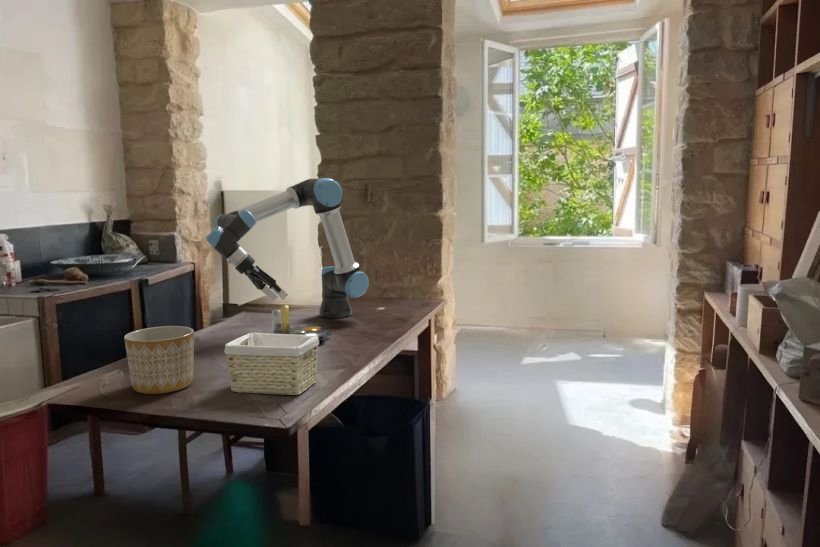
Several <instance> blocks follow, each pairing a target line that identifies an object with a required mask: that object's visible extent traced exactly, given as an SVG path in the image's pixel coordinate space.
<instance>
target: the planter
mask: <svg viewBox="0 0 820 547" xmlns="http://www.w3.org/2000/svg"><path fill="white" fill-rule="evenodd" d="M194 333H195V330H194V329H193V328H191V327H189V326H181V325H179V326H178V325H166V326H165V325H164V326H154V327H147V328H143V329H142V328H141V329H138V330H133V331H131V332H128V333H126V334H125V335H124V337H123V340H124V344H125V351H126V357H127V364H128V370H129V376H130V382H131V383H130V384H131V387H132V389H133V390H134V391H135V392H137V393H139V394H144V395H163V393H164V394H169V392H170V393H174V391H175V392H179V391H181V390H183V389H185V388H187V387H189V386H190V385H191V384H192V382H193V381H194V356H195V355H194V351H195V350H194V348H195V347H194V345H195V344H194V343H195V341H194V340H195V337H194V336H195V334H194Z"/></svg>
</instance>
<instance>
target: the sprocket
mask: <svg viewBox="0 0 820 547" xmlns="http://www.w3.org/2000/svg"><path fill="white" fill-rule="evenodd" d="M289 307H290V306H289V304H282V305H280V310H281V329H282V330H280V329H279V330H276V331H275V334H290V335H311V336H313V335H316V336H318V339H319V342H325V341H327V340H328V336H330V337H331V336H332V331H331V330H330V329H325V328H322V327H321V326H293V327H291V328H290V311H289V310H290V308H289Z"/></svg>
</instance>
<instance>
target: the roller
mask: <svg viewBox="0 0 820 547" xmlns="http://www.w3.org/2000/svg"><path fill="white" fill-rule="evenodd" d="M271 322H272V323H271V324H272V325H271V326H272V334H275V331H276V330H279V329H280V330H282V329H281V309H273V310H271Z"/></svg>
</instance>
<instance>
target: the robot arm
mask: <svg viewBox="0 0 820 547" xmlns="http://www.w3.org/2000/svg"><path fill="white" fill-rule="evenodd" d="M342 198H343V189H342V187H341V185H340V184H339V182H338V181H336V180H335V179H332V178H328V177H320V178H309V179H306V180H303V181H301V182H298V183H296V184H294V185H291V186H289V187H287V188H286V190H285V191H282V192H281V193H277V194H275V195H273V196H270V197H267V198H265V199H262V200H260V201H257V202H254V203H251V204H249V205H246V206H244V207H241V208H238V209H236V210H234V211H231V212H229V213H222V214H219V215H218V216H216V218H215V219H214V227H215V228H214V229H213V230H212V231H211V232H210V233H209V234H208V235H207V236H206V242H207V243H208V244H209V245H210V246H211V247H212V248H213V249H214V250H215V251H216V252H217V253H219V255H221V256H222V257H223V258H224V260H226V261H227V265H231V266H232V267H234V268H235V270H236V271H237V272H238V273H239V274H240V275H243V274H244V275H245V276H246V277H247V278H248V279H249V281H250V282H251V283H252V284H253V286H255V288H256V289H257V290H260V291H261V292H262V293H263V294H264V295H265V296H266V297H267V298H268V299H269V300H271V302H275V301H276V299H278V297H279V298H280V299H281V300H282V301H284V300H285V299H286V298H287V297H288V296H289V294H288V293H287V292H286V291H285V290H284V289H283V288H282V287H281V286H280V285H278V283H277V280H276V279H275V278H273V277H272V276H270V275H269V274H268V273H267V272H265V271H264V270H263V269H262V268H260V267H259V266H258V265H255V266H254V264H255V262H256V260H255V259H254V258H253V257H252V256H251V255H250V254H248V251H246V250H245V249H244V248H243V247H242V245H240V244H239V243H238V242H239V241H240V240H242V238H243V237H244V236H245V235H247V233H249V232H250V230H252V229H253V227H254V226H256V224H257V223H258V222H260V221H263V220H265V219H268V218H271V217H273V216H275V215H277V214H281V213H283V212H285V211H288V210H290V209H296V210H297V209H300V208H301V207H307V206H309V207H310V206H311V207H313V210H314V213H315V215H317V216H319V217H320V221H321V224H322V226H323V230H324V232H325V237H326V240H327V243H328V246H329V250H330V252H331V256H332V259H333V261H334V266H333V265H332V266H324V267H322V268H321V274H320V275H321V276H320V277H321V289H322V290H321V293H322V294H321V295H322V300H321V303H320V307H319V311H318V316H319V317H320V316H321V318H324V317H326V318H327V319H340V318H341V317H342V318H346V316H348V317H350V315H351V316H352V315H353V310H352V307H351V304H350V300H349V298H359V297H362V296H363V295H364V294H366V292H367V290H368V288H369V286H370V285H369V284H370V283H369V281H370V280H369V277H368V275H367V274H366V273H365V272H363V271H362V269H361V266H360V264H359V262H356V261H355V258H354V254H353V252H352V248H351V245H350V242H349V239H348V235H347V232H346V229H345V226H344V222H343V218H342V216H341V215H342V214H341V212H340V209H341V208H342V203H341V202H342ZM268 286H269V287H268ZM342 318H341V319H342Z"/></svg>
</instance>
